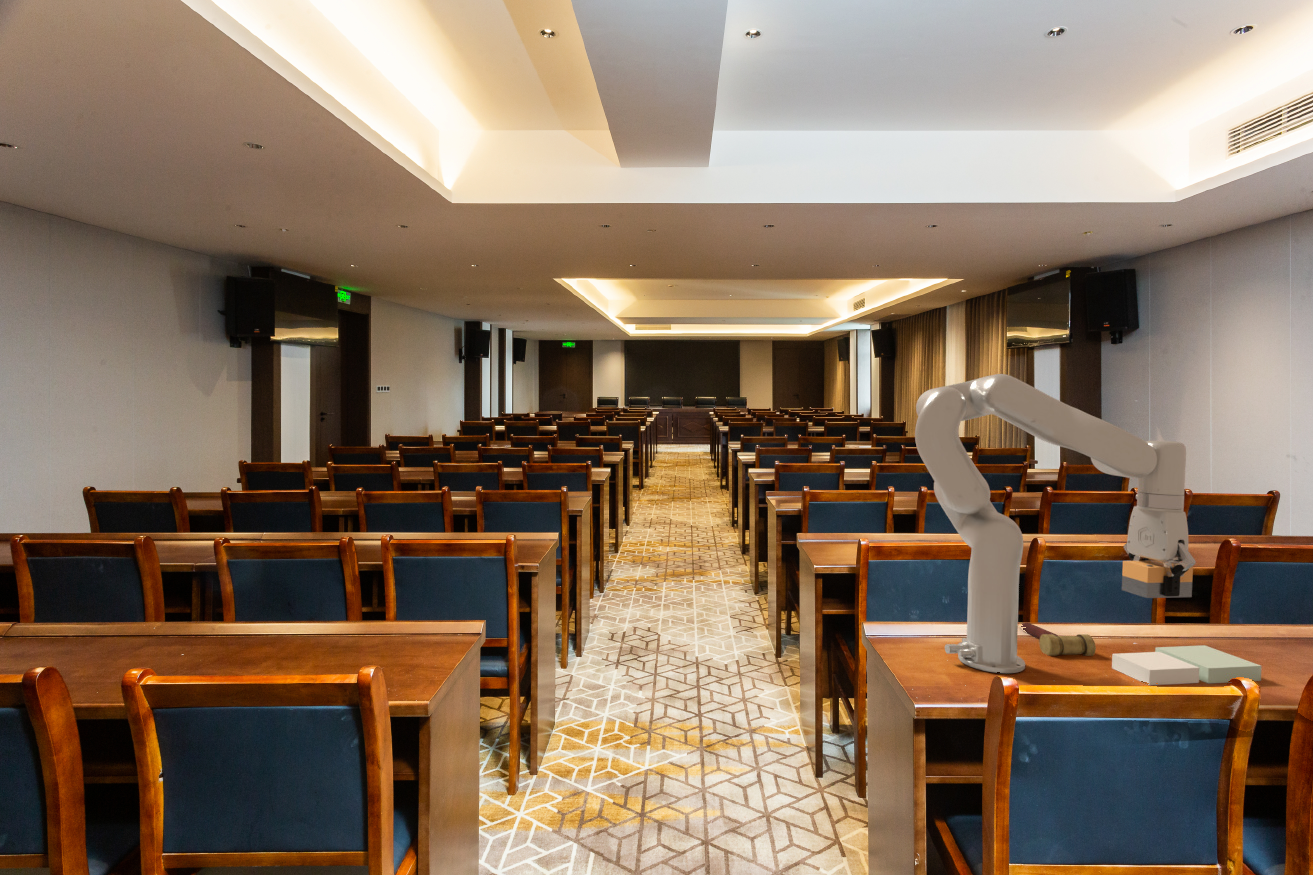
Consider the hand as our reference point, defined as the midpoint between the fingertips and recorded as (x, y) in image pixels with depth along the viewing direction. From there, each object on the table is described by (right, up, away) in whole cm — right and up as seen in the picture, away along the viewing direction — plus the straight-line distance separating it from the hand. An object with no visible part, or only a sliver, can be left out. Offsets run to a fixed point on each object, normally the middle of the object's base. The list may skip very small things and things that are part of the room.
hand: (1156, 590), depth 136 cm
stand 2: (+13, -17, +3) cm, 22 cm away
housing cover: (0, +2, 0) cm, 2 cm away
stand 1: (0, -17, +1) cm, 17 cm away
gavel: (-10, -17, +21) cm, 29 cm away
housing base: (0, -1, 0) cm, 1 cm away
